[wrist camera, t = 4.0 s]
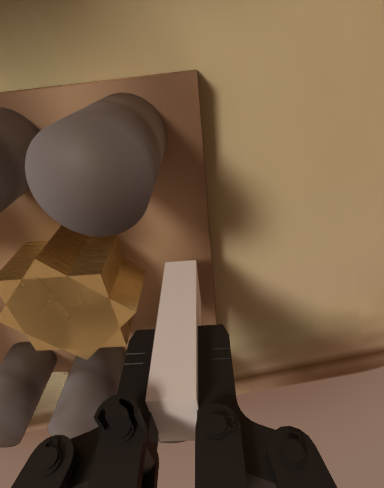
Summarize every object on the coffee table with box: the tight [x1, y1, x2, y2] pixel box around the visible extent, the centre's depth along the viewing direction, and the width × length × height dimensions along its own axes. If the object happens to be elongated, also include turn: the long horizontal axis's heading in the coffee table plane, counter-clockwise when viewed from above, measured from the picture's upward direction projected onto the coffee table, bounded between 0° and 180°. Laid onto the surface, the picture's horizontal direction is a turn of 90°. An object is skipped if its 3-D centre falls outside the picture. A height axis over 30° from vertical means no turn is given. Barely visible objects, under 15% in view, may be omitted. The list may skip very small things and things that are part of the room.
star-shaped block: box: [0, 225, 146, 360], centre depth 14 cm, size 7×7×3 cm
